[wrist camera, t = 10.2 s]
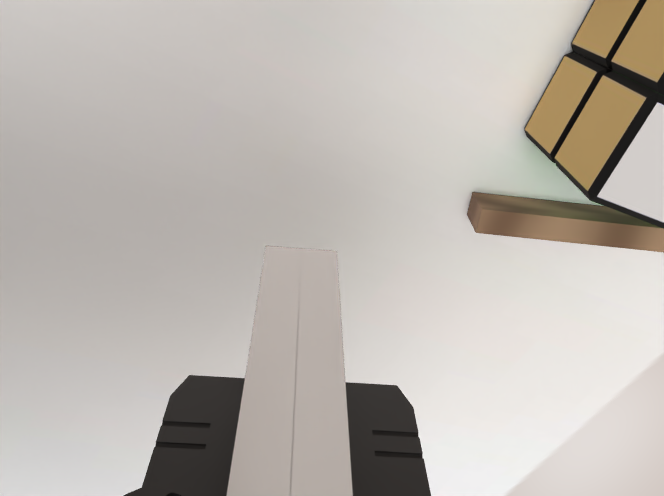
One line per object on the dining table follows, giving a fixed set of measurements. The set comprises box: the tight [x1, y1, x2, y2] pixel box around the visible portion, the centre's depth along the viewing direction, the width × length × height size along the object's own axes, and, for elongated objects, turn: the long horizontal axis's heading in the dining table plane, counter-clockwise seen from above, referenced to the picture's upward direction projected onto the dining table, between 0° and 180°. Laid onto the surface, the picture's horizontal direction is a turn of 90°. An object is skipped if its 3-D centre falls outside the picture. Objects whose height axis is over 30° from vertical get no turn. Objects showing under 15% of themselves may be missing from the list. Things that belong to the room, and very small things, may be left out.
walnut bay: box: [467, 192, 664, 252], centre depth 32 cm, size 16×17×2 cm
